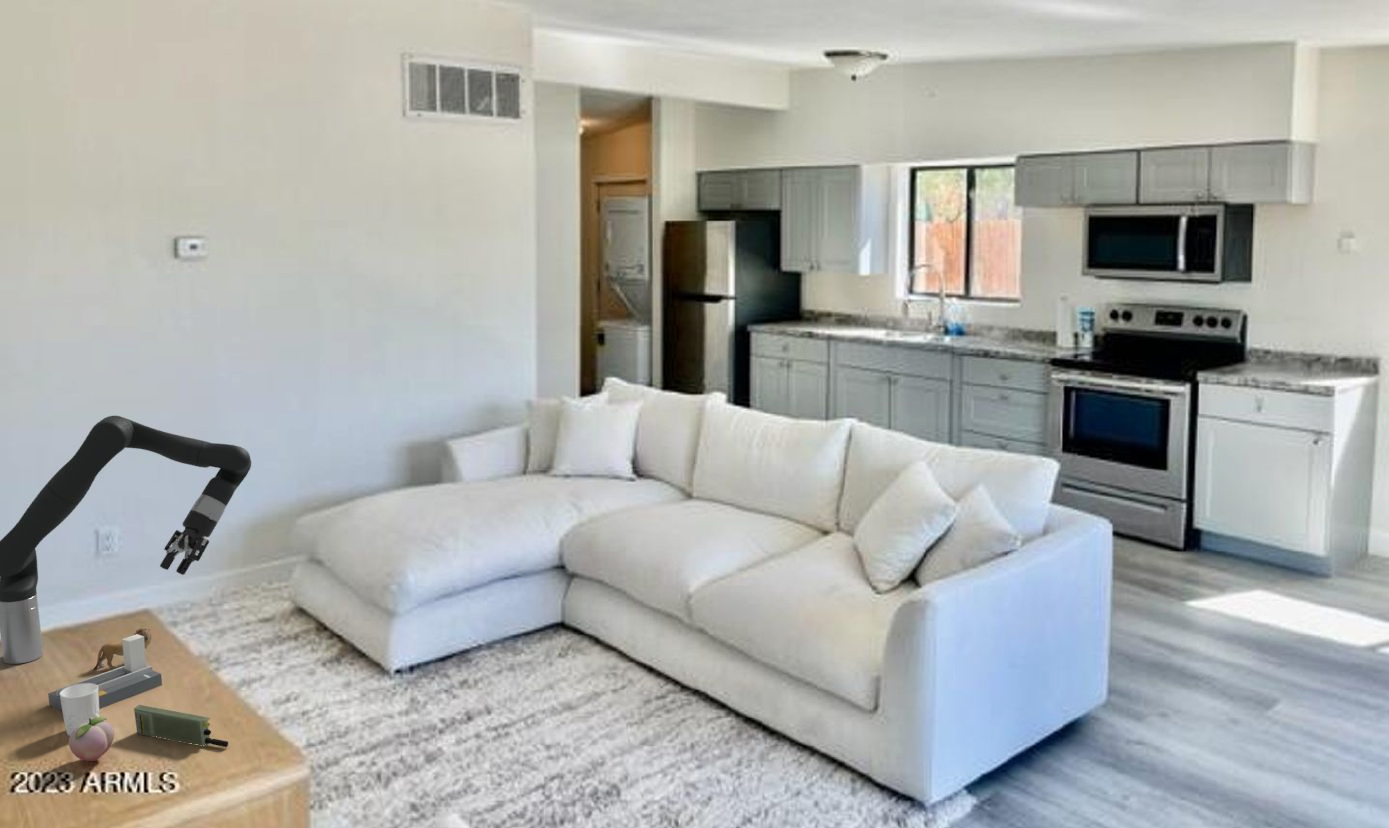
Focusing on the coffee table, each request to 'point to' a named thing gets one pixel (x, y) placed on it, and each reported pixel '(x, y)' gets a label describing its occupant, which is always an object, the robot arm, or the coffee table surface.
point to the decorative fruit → (91, 739)
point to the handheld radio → (174, 726)
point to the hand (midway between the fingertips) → (171, 570)
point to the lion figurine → (119, 648)
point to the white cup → (79, 704)
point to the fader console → (115, 685)
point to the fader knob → (134, 653)
